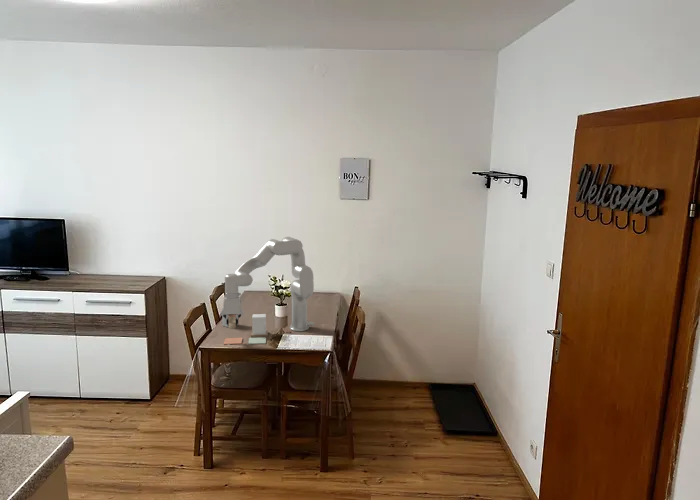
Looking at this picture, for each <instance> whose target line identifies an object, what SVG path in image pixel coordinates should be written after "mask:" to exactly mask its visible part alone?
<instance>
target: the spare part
mask: <svg viewBox="0 0 700 500" xmlns="http://www.w3.org/2000/svg"><path fill="white" fill-rule="evenodd" d="M228 317H229V327H228V329H236V328H237V326H236V315H235V314H233V315H228Z"/></svg>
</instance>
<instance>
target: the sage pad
mask: <svg viewBox="0 0 700 500" xmlns="http://www.w3.org/2000/svg"><path fill="white" fill-rule="evenodd" d="M266 344H267V337H248V345H266Z"/></svg>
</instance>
